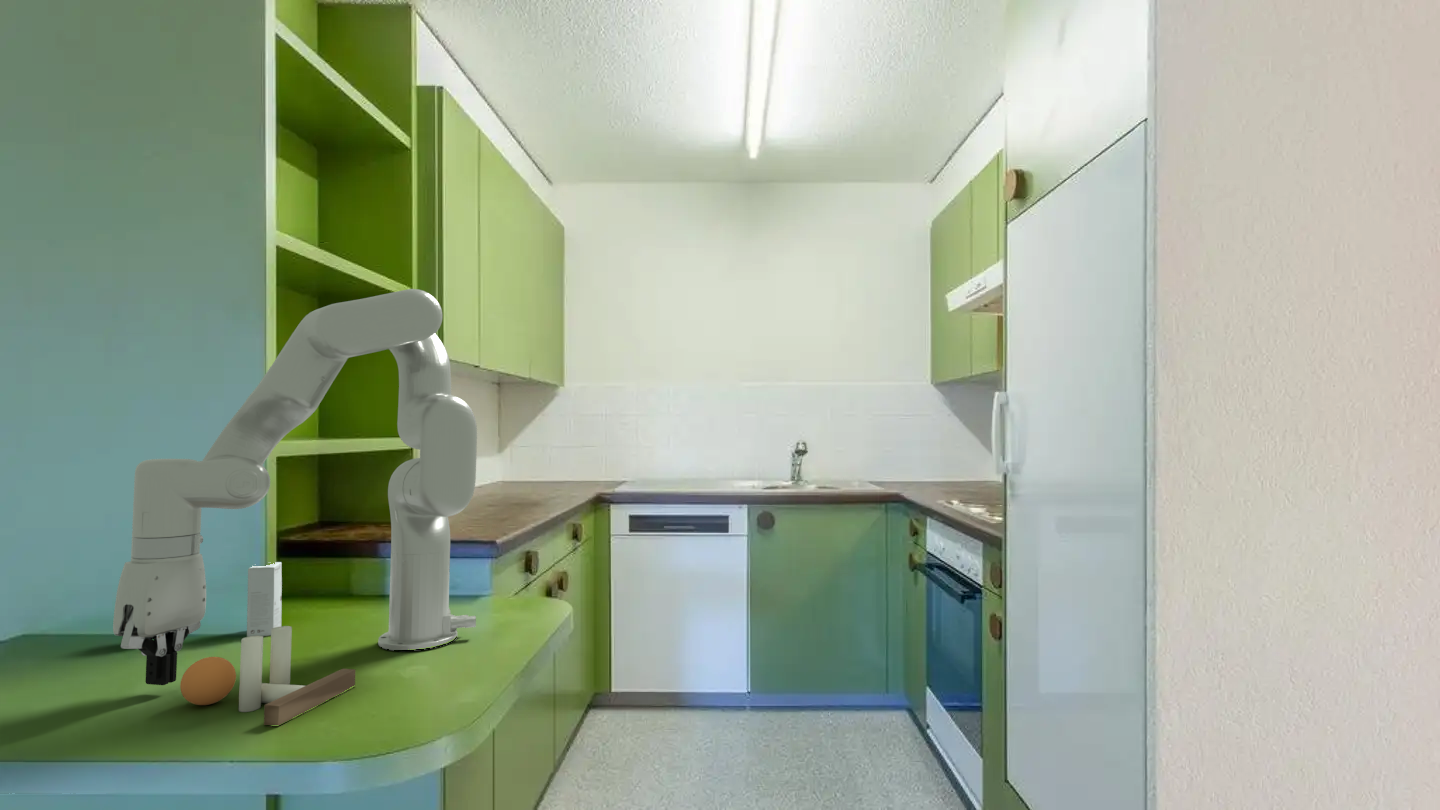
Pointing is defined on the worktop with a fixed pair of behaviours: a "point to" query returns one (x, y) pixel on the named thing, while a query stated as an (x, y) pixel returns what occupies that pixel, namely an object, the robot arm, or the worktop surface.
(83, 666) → the worktop surface
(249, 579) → the skincare box
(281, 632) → the pin right
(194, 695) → the brown egg
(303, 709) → the brown wooden bar
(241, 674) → the pin left
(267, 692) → the pin front
